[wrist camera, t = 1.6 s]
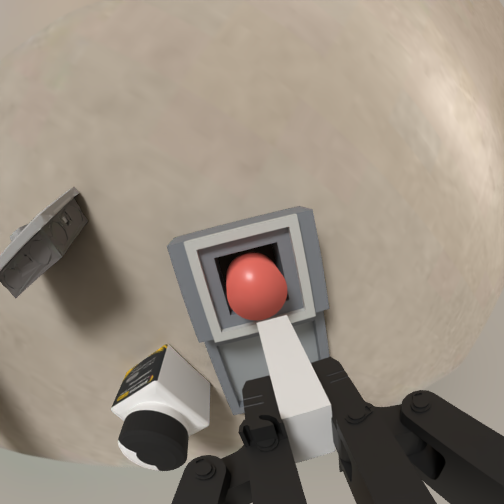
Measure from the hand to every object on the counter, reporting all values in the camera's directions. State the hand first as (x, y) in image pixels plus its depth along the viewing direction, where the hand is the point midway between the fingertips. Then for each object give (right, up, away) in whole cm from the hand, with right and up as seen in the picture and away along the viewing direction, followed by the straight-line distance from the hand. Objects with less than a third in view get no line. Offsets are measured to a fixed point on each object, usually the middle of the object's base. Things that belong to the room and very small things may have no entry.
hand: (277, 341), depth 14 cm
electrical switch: (-21, +7, +11) cm, 25 cm away
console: (0, -3, +15) cm, 15 cm away
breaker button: (-1, +2, +10) cm, 10 cm away
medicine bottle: (-11, -10, +16) cm, 21 cm away
